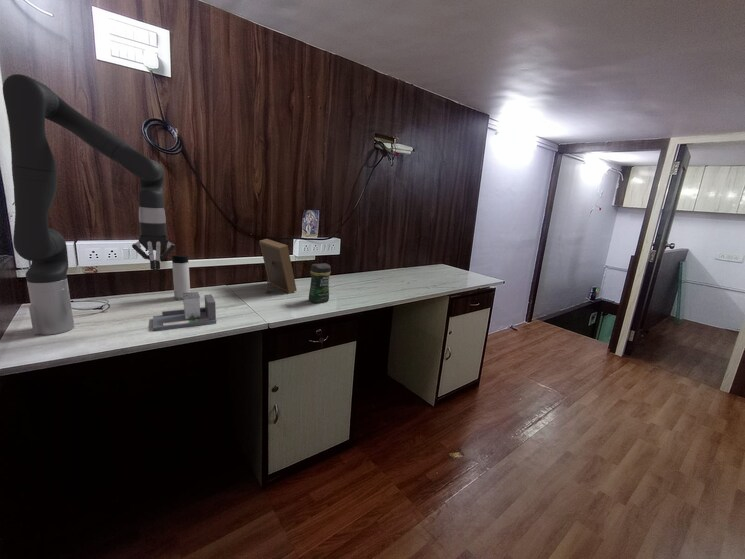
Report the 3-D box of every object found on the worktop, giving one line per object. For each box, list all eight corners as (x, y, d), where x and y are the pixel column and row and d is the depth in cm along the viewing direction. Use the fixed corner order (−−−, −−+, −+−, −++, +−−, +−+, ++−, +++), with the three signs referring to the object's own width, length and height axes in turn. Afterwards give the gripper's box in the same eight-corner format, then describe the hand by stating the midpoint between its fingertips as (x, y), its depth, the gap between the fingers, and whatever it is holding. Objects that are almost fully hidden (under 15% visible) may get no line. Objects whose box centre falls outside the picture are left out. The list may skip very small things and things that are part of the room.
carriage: (185, 322, 119) (184, 300, 117) (183, 314, 127) (182, 293, 124) (201, 320, 122) (200, 298, 120) (198, 312, 129) (197, 291, 127)
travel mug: (171, 299, 145) (168, 255, 140) (179, 295, 151) (176, 252, 146) (185, 300, 145) (183, 256, 140) (193, 296, 151) (190, 253, 146)
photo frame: (276, 282, 186) (276, 238, 179) (296, 292, 171) (297, 244, 164) (250, 285, 175) (249, 239, 169) (270, 296, 161) (270, 246, 154)
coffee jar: (315, 304, 155) (316, 266, 151) (306, 299, 161) (307, 262, 156) (331, 301, 162) (334, 264, 157) (322, 296, 167) (324, 261, 163)
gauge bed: (153, 331, 114) (151, 308, 112) (153, 319, 123) (151, 298, 121) (216, 323, 125) (215, 302, 123) (211, 312, 134) (211, 293, 132)
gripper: (127, 221, 104) (131, 274, 109) (175, 223, 112) (178, 272, 116) (128, 218, 110) (132, 268, 115) (174, 220, 118) (176, 267, 122)
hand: (155, 270), depth 115 cm, fingers closed
